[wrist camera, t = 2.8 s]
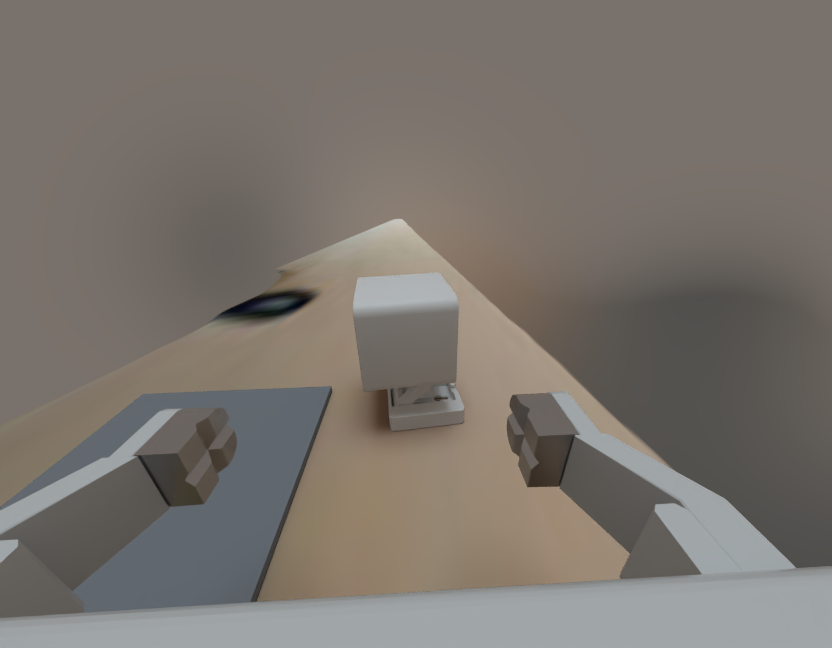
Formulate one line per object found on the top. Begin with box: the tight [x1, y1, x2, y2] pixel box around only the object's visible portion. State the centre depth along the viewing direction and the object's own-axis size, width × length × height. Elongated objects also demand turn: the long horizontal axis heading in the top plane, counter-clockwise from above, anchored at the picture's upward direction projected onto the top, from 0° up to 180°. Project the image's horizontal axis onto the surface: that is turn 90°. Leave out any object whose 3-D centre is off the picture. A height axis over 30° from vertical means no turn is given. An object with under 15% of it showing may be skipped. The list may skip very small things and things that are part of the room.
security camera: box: [353, 273, 464, 431], centre depth 21 cm, size 6×7×10 cm
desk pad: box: [0, 386, 332, 613], centre depth 18 cm, size 16×16×1 cm
